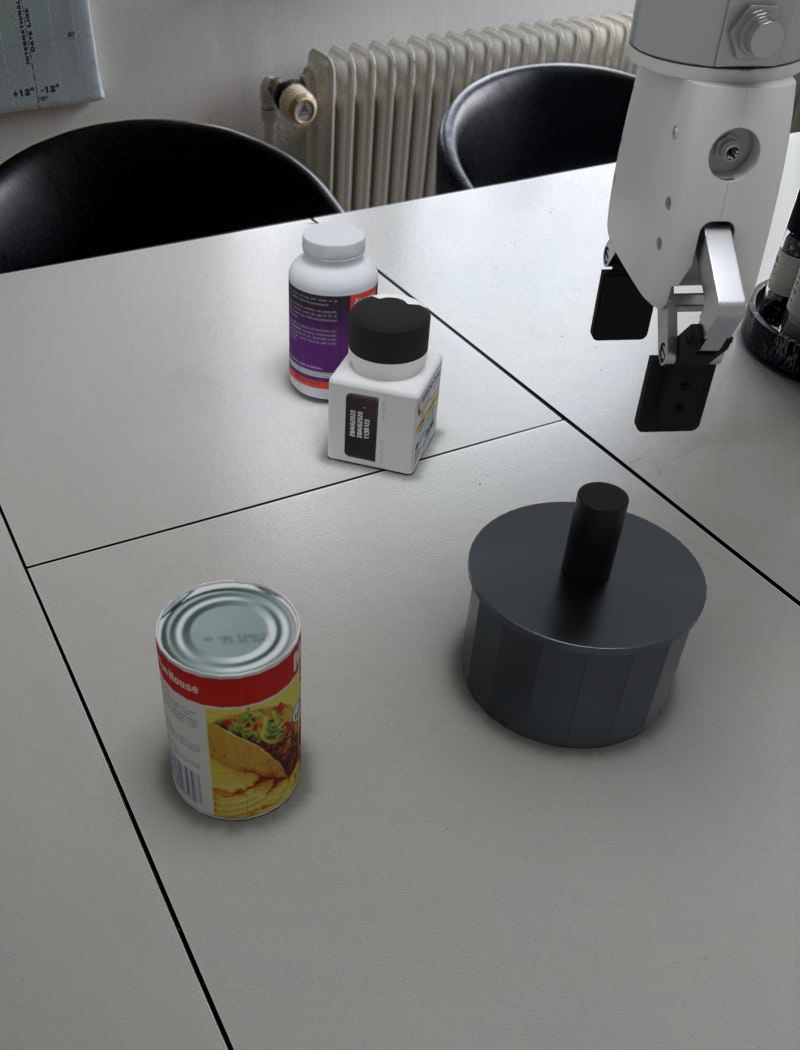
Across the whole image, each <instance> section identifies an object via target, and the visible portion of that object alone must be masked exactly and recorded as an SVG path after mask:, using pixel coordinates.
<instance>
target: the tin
mask: <svg viewBox="0 0 800 1050" xmlns="http://www.w3.org/2000/svg"><path fill="white" fill-rule="evenodd" d="M470 589H471V590H470V597H469V602H468V612H467V616H466V617H467V618H466V625H465V632H464V638H463V645H462V651H461V658H462V672H463V676H464V680H465V684H466V685H467V688H468V689H469V691H470V694H471V695H472V696H473V698H474V699H475V701H476V702H477V703H478V704H479V706H480V707H481V708H482V710H484V712H486V713H487V714H488V715H490V717H492V718H493V720H496V721H497V722H498V723H500V724H501V725H503V726H504V727H506V728H508V729H510V730H511V731H512V732H515V733H516V734H519V735H522V736H524V737H526V738H529V739H531V740H535V741H537V742H539V743H540V742H541V743H545V744H548V745H553V746H559V747H567V748H580V749H581V748H584V749H585V748H600V747H605V746H610V745H614V744H617V743H621V742H625V741H626V740H628V739H631V738H633V737H635V736H636V735H638V734H640V733H641V732H643V731H644V730H646V729H647V728H648V727H649V726H650V725H651V724H652V723H653V722H654V721H655V720H656V718H657V717H658V715H659V713H660V712H661V710H662V709H663V708H665V707H664V706H665V704H666V701H667V698H668V696H669V693H670V690H671V688H672V684H673V681H674V679H675V675H676V672H677V670H678V667H679V663H680V660H681V659H682V655H683V653H684V650H685V649H684V648H685V646H686V643H687V639H688V638H689V634H690V631H691V629H690V630H689V631H688V632H687V633H686V634H684V635H683V636H682V637H681V638H679V639H677V640H676V641H674V642H672V643H671V644H668V645H666V646H663V647H661V648H659V649H655V650H652V651H648V652H644V653H639V654H633V655H623V656H595V655H586V654H578V653H573V652H569V651H564V650H560V649H557V648H553V647H550V646H546V645H544V644H541V643H539V642H536V641H534V640H531V639H529V638H527V637H525V636H523V635H521V634H519V633H517V632H516V631H514V630H512V629H511V628H509V627H508V626H506V625H504V624H503V623H502V622H501V621H499V620H498V619H497V618H496V617H494V616H493V615H492V614H491V613H490V612H489V611H488V610H487V609H486V608H485V607H484V605H483V604H482V603H481V601H480V600H479V599H478V597H477V596H476V594H475V592H474V590H473V588H472V587H471V588H470Z"/></svg>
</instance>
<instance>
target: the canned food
mask: <svg viewBox="0 0 800 1050" xmlns="http://www.w3.org/2000/svg"><path fill="white" fill-rule="evenodd" d="M300 617H301V616H300V613H299V612H298V610H297V608H296V607H295V605H294V603H293V602H292V601H291V600H290V599H289V598H288V597H286V596H285V595H284V594H283V593H282V592H280V591H278V590H276V589H275V588H272V587H271V586H270V585H265V584H262V583H259V582H256V581H252V580H244V579H237V578H235V579H217V580H216V579H215V580H212V581H208V582H203V583H199V584H196V585H193V586H192V587H189V588H185V590H183V591H181V592H180V593H178V594H176V595H175V596H174V597H172V598H171V599H170V600H169V601H168V602H167V603H166V604H165V606H164V607H163V608H161V610H160V612H159V614H158V616H157V619H156V621H155V628H154V630H155V631H154V638H155V645H156V653H157V654H156V655H157V661H158V662H157V663H158V671H159V676H160V677H159V678H160V686H161V693H162V700H163V710H164V716H165V724H166V725H165V726H166V731H167V740H168V747H169V748H168V749H169V756H170V764H171V770H172V779H173V783H174V785H175V788H176V791H177V793H178V795H179V796H181V798H182V800H183V801H184V802H185V803H186V804H188V806H190V807H191V808H192V809H194V810H196V812H198V813H201V814H203V815H205V816H208V817H211V818H213V819H219V820H227V821H241V820H250V819H253V818H257V817H261V816H264V815H266V814H268V813H270V812H271V811H274V810H276V809H277V808H279V807H280V806H281V805H283V804H284V803H285V802H286V801H287V800H288V799H289V798H291V795H292V794H293V793H294V792H295V789H296V788H297V786H298V784H299V780H300V777H301V772H302V625H301V618H300Z"/></svg>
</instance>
